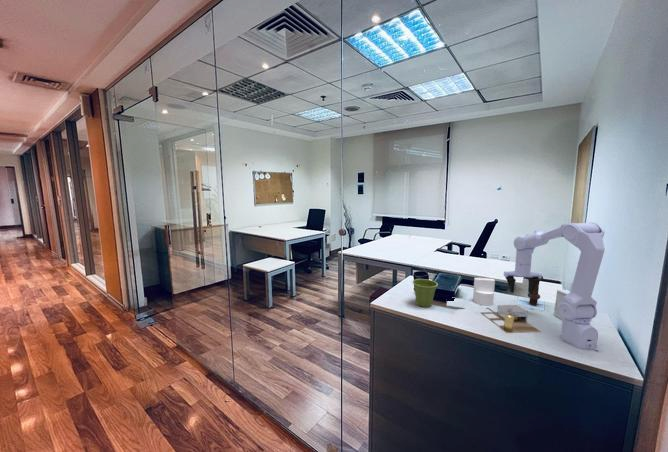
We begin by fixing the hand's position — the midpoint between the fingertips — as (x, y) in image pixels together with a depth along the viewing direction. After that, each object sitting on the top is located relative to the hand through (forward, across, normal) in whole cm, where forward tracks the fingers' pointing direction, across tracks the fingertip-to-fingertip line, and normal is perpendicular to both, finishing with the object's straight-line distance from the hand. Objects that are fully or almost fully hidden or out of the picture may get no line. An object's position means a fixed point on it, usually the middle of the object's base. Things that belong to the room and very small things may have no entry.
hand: (520, 292), depth 122 cm
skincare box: (+10, -17, +2) cm, 20 cm away
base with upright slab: (+10, +12, -11) cm, 19 cm away
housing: (+9, +7, +9) cm, 14 cm away
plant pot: (+10, +42, -2) cm, 43 cm away
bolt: (+10, -12, -12) cm, 19 cm away
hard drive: (+10, +26, -6) cm, 29 cm away
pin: (+9, +13, +20) cm, 26 cm away
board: (+10, +10, +10) cm, 17 cm away
